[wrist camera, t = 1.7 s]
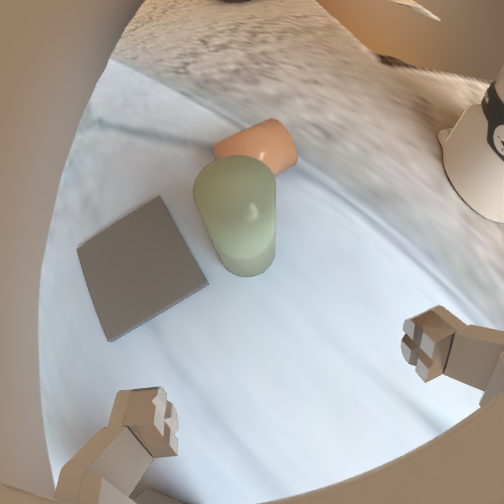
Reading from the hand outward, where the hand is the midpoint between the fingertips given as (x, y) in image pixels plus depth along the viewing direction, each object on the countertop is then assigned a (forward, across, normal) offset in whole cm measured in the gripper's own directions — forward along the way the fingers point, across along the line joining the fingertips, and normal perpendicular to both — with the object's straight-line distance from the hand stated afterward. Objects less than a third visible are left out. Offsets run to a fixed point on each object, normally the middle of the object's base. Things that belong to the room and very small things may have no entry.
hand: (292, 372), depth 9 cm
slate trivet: (+22, +11, +3) cm, 25 cm away
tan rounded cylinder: (+28, -4, -4) cm, 29 cm away
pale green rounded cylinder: (+21, -1, +3) cm, 21 cm away
